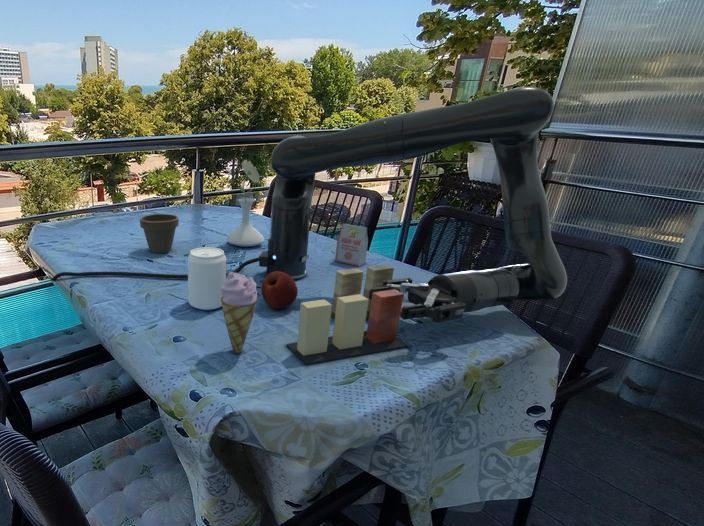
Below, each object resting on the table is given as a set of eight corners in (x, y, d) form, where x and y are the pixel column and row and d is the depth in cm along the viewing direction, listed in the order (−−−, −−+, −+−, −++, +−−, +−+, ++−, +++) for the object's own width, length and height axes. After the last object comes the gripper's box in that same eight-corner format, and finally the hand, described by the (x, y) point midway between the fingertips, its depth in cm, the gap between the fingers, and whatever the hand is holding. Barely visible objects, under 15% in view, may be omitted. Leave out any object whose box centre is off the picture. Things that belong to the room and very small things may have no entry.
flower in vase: (266, 249, 138) (270, 162, 128) (228, 250, 138) (229, 163, 129) (259, 237, 150) (263, 157, 140) (224, 238, 150) (225, 158, 141)
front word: (306, 365, 78) (310, 314, 74) (286, 345, 84) (289, 298, 80) (407, 347, 82) (417, 298, 79) (382, 330, 88) (389, 284, 85)
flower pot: (157, 242, 148) (155, 211, 144) (186, 248, 142) (186, 215, 138) (133, 252, 139) (131, 219, 135) (163, 258, 133) (162, 223, 129)
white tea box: (341, 257, 129) (345, 222, 125) (365, 262, 124) (370, 226, 120) (335, 260, 127) (338, 225, 123) (358, 266, 122) (363, 229, 118)
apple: (253, 303, 102) (254, 269, 98) (282, 297, 104) (285, 263, 101) (272, 316, 95) (274, 280, 92) (303, 309, 98) (306, 274, 95)
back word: (341, 323, 92) (346, 278, 88) (322, 309, 98) (326, 267, 94) (426, 310, 96) (435, 267, 92) (403, 297, 102) (410, 256, 99)
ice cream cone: (217, 342, 86) (217, 265, 80) (250, 340, 86) (253, 263, 80) (223, 360, 80) (224, 279, 74) (259, 358, 80) (263, 276, 74)
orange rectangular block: (374, 343, 83) (381, 297, 79) (365, 337, 85) (372, 292, 82) (395, 339, 84) (403, 294, 80) (386, 334, 86) (394, 289, 83)
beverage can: (229, 299, 104) (230, 247, 100) (220, 313, 97) (221, 259, 93) (194, 295, 107) (194, 245, 102) (183, 309, 100) (182, 256, 95)
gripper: (435, 261, 90) (363, 270, 87) (500, 286, 78) (418, 299, 74) (428, 296, 93) (358, 307, 90) (489, 327, 81) (410, 340, 77)
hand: (385, 303), depth 82 cm, fingers open, 8 cm apart
